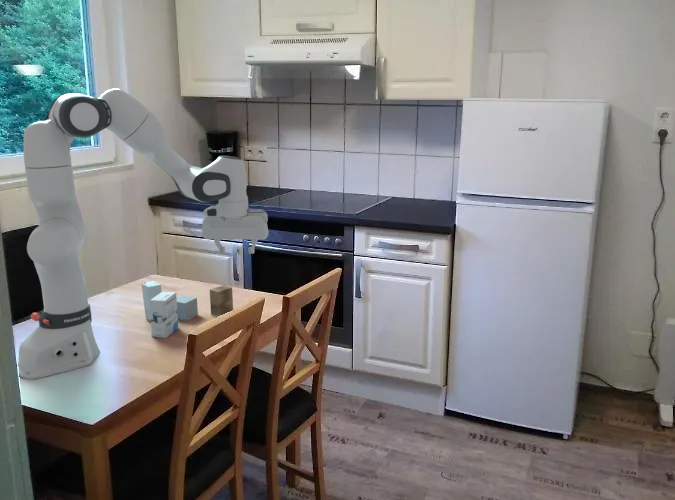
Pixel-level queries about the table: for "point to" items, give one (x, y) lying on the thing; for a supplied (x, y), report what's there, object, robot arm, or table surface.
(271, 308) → the table surface
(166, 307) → the ink box
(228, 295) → the walnut block
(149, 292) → the skincare box
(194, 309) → the slate block
